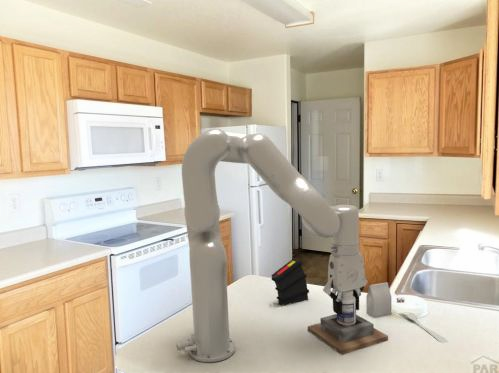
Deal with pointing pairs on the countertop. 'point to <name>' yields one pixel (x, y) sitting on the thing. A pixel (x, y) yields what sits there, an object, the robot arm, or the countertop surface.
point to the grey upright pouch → (378, 300)
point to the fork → (437, 336)
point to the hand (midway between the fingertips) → (346, 310)
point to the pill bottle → (347, 309)
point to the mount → (347, 334)
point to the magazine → (291, 283)
